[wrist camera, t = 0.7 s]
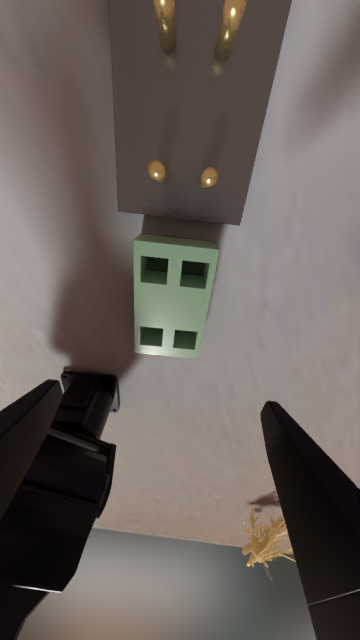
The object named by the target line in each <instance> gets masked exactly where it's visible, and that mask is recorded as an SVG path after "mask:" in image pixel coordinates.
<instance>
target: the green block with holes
mask: <svg viewBox="0 0 360 640" xmlns="http://www.w3.org/2000/svg"><path fill="white" fill-rule="evenodd" d="M133 249H134V345H135V353H143V354H153V355H164V356H175V357H186V358H197V359H198V358H199V353H200V348H201V343H202V338H203V332H204V327H205V322H206V317H207V312H208V307H209V302H210V297H211V292H212V287H213V282H214V276H215V271H216V266H217V261H218V256H219V251H220V250H219V248H218V247H217V245H216V243H215V242H212V241H203V240H194V239H186V238H177V237H168V236H159V235H151V234H142V233H141V234H140V235H139V236H138V237H137V238H135V239H134V240H133ZM147 256H148V257H157V258H166V259H169V260H168V272H158V271H149V270H147ZM182 260H184V261H193V262H202V263H205V264H204V270H203V276H196V275H186V274H181V269H182ZM151 327H152V328H151ZM162 328H163V329H162ZM182 330H183V331H182Z"/></svg>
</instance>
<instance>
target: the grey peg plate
mask: <svg viewBox="0 0 360 640" xmlns="http://www.w3.org/2000/svg"><path fill="white" fill-rule="evenodd" d="M291 1H292V0H109V5H110V28H111V52H112V75H113V98H114V122H115V145H116V169H117V192H118V211H120V212H129V213H137V214H146V215H154V216H163V217H171V218H180V219H188V220H197V221H205V222H214V223H222V224H231V225H240V222H241V218H242V213H243V209H244V205H245V200H246V196H247V192H248V187H249V183H250V179H251V174H252V170H253V166H254V161H255V157H256V153H257V148H258V144H259V140H260V135H261V131H262V127H263V122H264V118H265V114H266V109H267V105H268V101H269V96H270V92H271V88H272V83H273V79H274V75H275V70H276V66H277V62H278V57H279V53H280V49H281V44H282V40H283V36H284V31H285V27H286V23H287V18H288V14H289V10H290V5H291Z"/></svg>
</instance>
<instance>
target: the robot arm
mask: <svg viewBox="0 0 360 640" xmlns="http://www.w3.org/2000/svg"><path fill="white" fill-rule="evenodd" d="M61 380H62V383H63V387H64V393H63V394H62V389H61V386H60V382H59V381H58V380H51V379H49V380H46V381H45V382H43V383H42V384H40V385H39V386H37V387H36V388H34V389H33V390H31V391H30V392H28V393H27V394H25V395H24V396H22V397H21V398H19V399H18V400H16V401H15V402H13V403H12V404H10V405H9V406H7V407H6V408H4V409H3V410H1V411H0V640H17V637H18V635H19V633H20V631H21V629H22V626H23V624H24V622H25V620H26V619H27V617H28V616H29V615H30V614H31V613H32V612H33V610H34V609H35V608H36V607H37V606H38V605H39V604H40V603H41V601H42V600H43V599H44V598H45V597H46V596H47V595H48V594H49V592H55V593H61V592H62V591H63V590H64V588H65V587H66V586H67V584H68V583H69V581H70V580H71V579H72V577H73V576H74V574H75V572H76V570H77V567H78V564H79V561H80V558H81V555H82V552H83V549H84V546H85V544H86V541H87V538H88V536H89V533H90V531H91V528H92V526H93V524H95V523H96V521H97V520H98V519H99V517H100V515H101V514H102V512H103V509H104V507H105V505H106V502H107V500H108V497H109V494H110V490H111V485H112V477H113V469H114V460H115V452H116V445H115V444H112V443H111V444H110V443H107V442H105V441H102V440H100V438H101V435H102V432H103V429H104V426H105V423H106V420H107V418H108V415H109V412H118V410H119V400H118V386H117V378H116V377H115V376H113V375H101V374H90V373H78V372H67V371H64V372H63V373H62V374H61ZM261 423H262V429H263V435H264V441H265V447H266V452H267V457H268V461H269V464H270V468H271V472H272V475H273V479H274V483H275V486H276V490H277V494H278V498H279V501H280V505H281V509H282V512H283V516H284V520H285V523H286V527H287V531H288V535H289V538H290V542H291V546H292V549H293V553H294V556H295V560H296V564H297V568H298V571H299V575H300V579H301V583H302V586H303V590H304V594H305V597H306V601H307V604H308V609H309V612H310V617H311V620H312V624H313V628H314V631H315V635H316V639H317V640H360V489H359V488H357V487H356V485H355V484H354V483H353V482H352V481H351V479H350V478H349V477H348V476H347V475H346V474H345V473H344V472H343V471H342V470H341V469H340V468H339V467H338V466H337V465H336V464H335V463H334V461H333V460H332V459H331V458H330V457H329V456H328V455H327V454H326V453H325V452H324V451H323V450H322V449H321V448H320V447H319V446H318V445H317V444H316V442H315V441H314V440H313V439H312V438H311V437H310V436H309V435H308V434H307V433H306V432H305V431H304V430H303V429H302V428H301V427H300V426H299V424H298V423H297V422H296V421H295V420H294V419H293V418H292V417H291V416H290V415H289V414H288V413H287V412H286V411H285V410H284V409H283V408H282V407H281V405H280V404H279V403H277V402H275V401H267V402H266V403H265V405H264V407H263V409H262V411H261Z"/></svg>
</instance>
